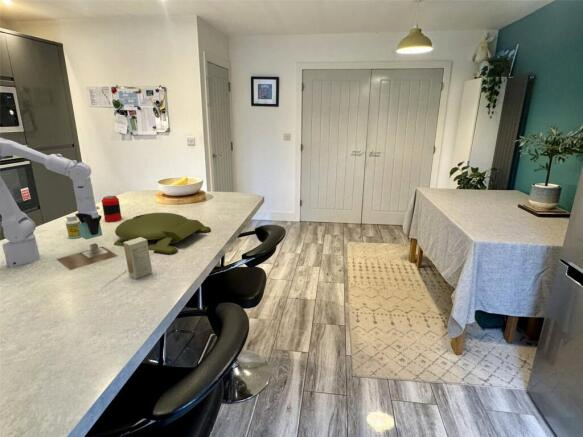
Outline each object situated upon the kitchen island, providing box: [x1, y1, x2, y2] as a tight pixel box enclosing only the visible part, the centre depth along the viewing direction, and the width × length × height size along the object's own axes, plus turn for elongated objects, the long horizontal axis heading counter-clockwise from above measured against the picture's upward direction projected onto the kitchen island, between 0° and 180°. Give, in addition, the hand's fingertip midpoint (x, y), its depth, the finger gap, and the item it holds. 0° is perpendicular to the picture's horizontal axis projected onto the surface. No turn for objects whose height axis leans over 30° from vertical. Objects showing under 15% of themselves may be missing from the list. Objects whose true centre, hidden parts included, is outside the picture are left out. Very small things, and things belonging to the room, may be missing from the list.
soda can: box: [101, 195, 122, 223], centre depth 169 cm, size 8×8×12 cm
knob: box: [78, 222, 103, 240], centre depth 125 cm, size 6×6×5 cm
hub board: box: [56, 243, 119, 271], centre depth 124 cm, size 16×14×4 cm
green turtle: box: [113, 212, 212, 255], centre depth 146 cm, size 35×31×10 cm
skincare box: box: [123, 237, 153, 280], centre depth 112 cm, size 6×4×12 cm
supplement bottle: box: [65, 213, 82, 239], centre depth 147 cm, size 5×5×10 cm
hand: (91, 232), depth 126 cm, fingers closed on knob, 6 cm apart
